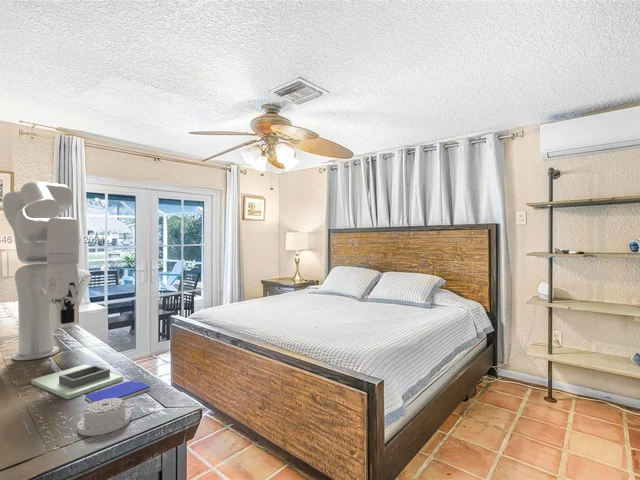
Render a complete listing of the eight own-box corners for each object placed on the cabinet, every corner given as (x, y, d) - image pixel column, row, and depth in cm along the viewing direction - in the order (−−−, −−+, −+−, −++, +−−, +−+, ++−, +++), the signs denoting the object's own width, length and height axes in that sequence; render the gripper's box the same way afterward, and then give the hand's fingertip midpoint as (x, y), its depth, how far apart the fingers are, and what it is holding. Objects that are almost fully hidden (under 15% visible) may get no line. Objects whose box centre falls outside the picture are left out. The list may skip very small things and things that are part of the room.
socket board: (31, 383, 97) (31, 372, 97) (85, 367, 109) (85, 357, 109) (67, 399, 87) (67, 387, 87) (122, 379, 99) (122, 369, 99)
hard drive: (134, 378, 98) (84, 394, 88) (149, 385, 93) (98, 403, 83) (134, 384, 98) (84, 401, 88) (150, 391, 93) (98, 410, 83)
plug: (49, 327, 100) (49, 303, 100) (74, 322, 106) (74, 299, 106) (56, 328, 98) (56, 303, 99) (81, 323, 104) (81, 300, 104)
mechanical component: (65, 434, 72) (106, 440, 70) (65, 413, 72) (106, 418, 70) (104, 411, 82) (141, 415, 80) (104, 392, 82) (141, 396, 80)
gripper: (34, 260, 103) (35, 322, 103) (62, 260, 95) (63, 327, 94) (63, 259, 110) (64, 317, 109) (91, 258, 101) (92, 322, 101)
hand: (63, 321), depth 102 cm, fingers closed on plug, 4 cm apart
